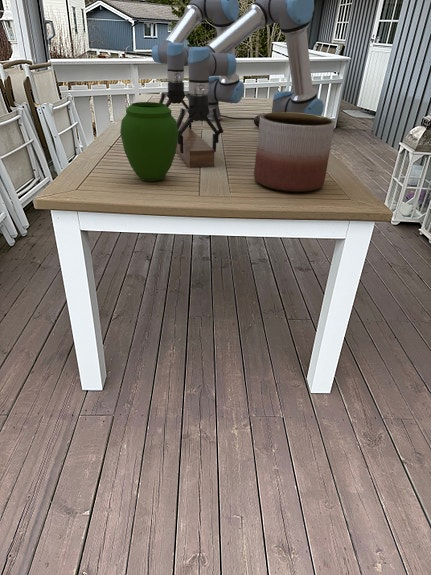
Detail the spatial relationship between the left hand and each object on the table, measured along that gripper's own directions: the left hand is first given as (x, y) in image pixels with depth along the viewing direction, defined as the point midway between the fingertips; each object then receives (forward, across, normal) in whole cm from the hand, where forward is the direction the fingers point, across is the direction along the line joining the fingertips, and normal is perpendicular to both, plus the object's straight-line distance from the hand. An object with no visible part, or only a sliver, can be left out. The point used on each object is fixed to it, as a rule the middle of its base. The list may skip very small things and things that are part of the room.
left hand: (176, 129), depth 200 cm
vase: (+3, -22, -62) cm, 66 cm away
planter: (+3, +26, -74) cm, 79 cm away
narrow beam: (+4, 0, -21) cm, 22 cm away
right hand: (0, 0, -43) cm, 43 cm away
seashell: (+5, +53, +21) cm, 58 cm away
